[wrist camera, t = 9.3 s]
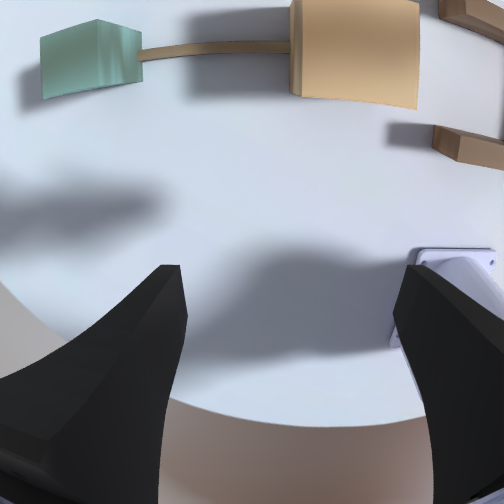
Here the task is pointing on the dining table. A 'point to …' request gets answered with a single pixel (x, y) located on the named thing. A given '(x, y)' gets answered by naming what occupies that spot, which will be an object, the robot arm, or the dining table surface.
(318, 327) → the dining table surface
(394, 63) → the wooden blocks on rod
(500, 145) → the wooden u-shaped bracket
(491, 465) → the robot arm
